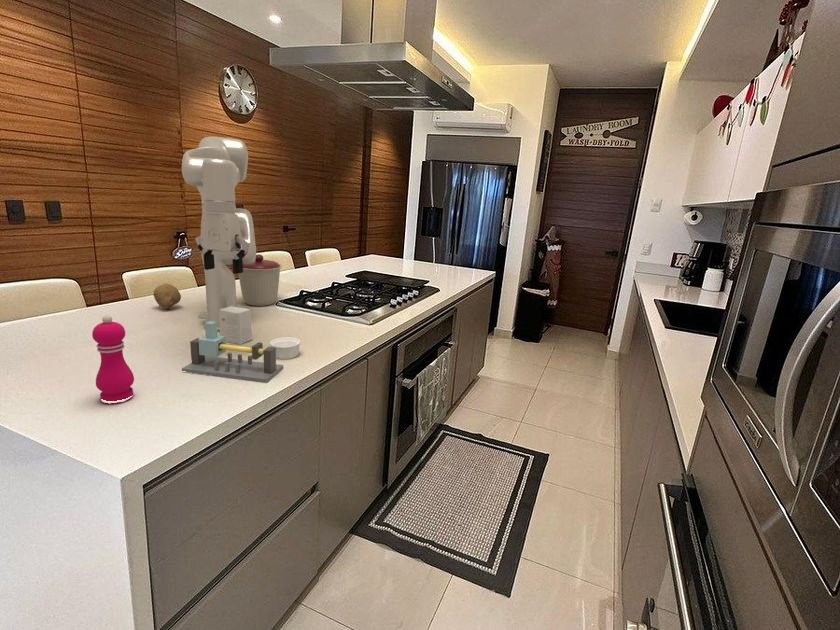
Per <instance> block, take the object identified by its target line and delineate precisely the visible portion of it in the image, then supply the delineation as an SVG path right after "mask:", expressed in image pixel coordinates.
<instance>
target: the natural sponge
mask: <svg viewBox="0 0 840 630" xmlns="http://www.w3.org/2000/svg"><path fill="white" fill-rule="evenodd" d="M153 298H154V300H155V302H156V303H157V305H158V306H159V307H160V308H162V309H164V310H169V309H171V308H172V307H173V306H175V305H177V304H179V303H180V301H181V299H182V296H181V292H180V291H179V289H178V288H177V287H176V286H174V285H172V284H170V283H163V284H159V285H158V286H157V287H155V289H154V290H153Z"/></svg>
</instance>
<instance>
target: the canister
mask: <svg viewBox="0 0 840 630" xmlns="http://www.w3.org/2000/svg"><path fill="white" fill-rule="evenodd" d="M281 268H282V264H280V263H279V262H277V261H274V260H268V259H264V255H263V254H259V253H256V259H255V261H254V262H253V263H251V264H243V272H242V273H238V274H237V275H238V279H239V285H240V291H241V296H242V300H243V302H244V303H245V304H246V305H249V306H255V307H264V306H265V307H266V306H271V305H273V304H274V303H276V301H277V299H278V295H279V294H278V293H279V284H280V273H281Z"/></svg>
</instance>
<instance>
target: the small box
mask: <svg viewBox="0 0 840 630" xmlns="http://www.w3.org/2000/svg"><path fill="white" fill-rule="evenodd" d="M251 314H252V313H251V309H249V308H244V307H233V306H230V307H227V308H223V309H220V310H219V320H220V333H219V334H220V336H225V343H226V342H227V343H232V344H237V345H242V344H244V343H247V342H249V341H251V340H252V339H253V333H252V332H253V330H252V318H251V317H252V315H251Z"/></svg>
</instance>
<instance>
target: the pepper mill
mask: <svg viewBox="0 0 840 630" xmlns="http://www.w3.org/2000/svg"><path fill="white" fill-rule="evenodd" d="M101 321H102V322H100V323H98V324H97V325H95V326H94V328H93V330H92V331H91V333H92V339H93V340H94V342H95V343H97V344H96V348H97V349H96V350H97V352H98V353H99V354H100V366H99V369H98V371H97V374H96V377H95V386H96V388H97V389H98V390H99V391H101V392H100V393H99V398H100V400H101V399H103V400H106V401H117V400H122V399H126V398H128V397H130V396H132V395H133V394H134V389H133V387H132V385H134V382H135V377H134V373H133V371H132V369H131V368H130V366H129V365H128V364H127V362H126V360H125V358H124V354H123V352H124V351H123V350H124V349H125V345H124V344H125V342H124V341H123V340H124V338H126V337H125V336H126V329H125V327H124V326H123V325H122V324H121V323H119V322H117V321H113V318H112V316H110V315H103V317H102V319H101ZM133 396H134V395H133Z"/></svg>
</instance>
